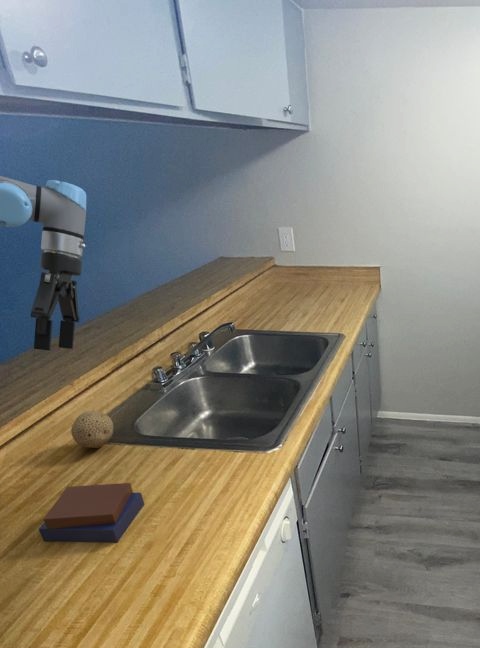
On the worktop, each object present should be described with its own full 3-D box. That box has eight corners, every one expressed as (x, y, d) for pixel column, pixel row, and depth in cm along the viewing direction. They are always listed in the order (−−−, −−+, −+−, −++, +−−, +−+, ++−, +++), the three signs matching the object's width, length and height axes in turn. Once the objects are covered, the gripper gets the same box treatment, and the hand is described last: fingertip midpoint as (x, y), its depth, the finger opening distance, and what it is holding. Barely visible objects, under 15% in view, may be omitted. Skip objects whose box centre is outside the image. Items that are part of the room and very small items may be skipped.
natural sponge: (119, 452, 117) (109, 417, 112) (77, 462, 113) (64, 426, 108) (117, 434, 124) (107, 401, 119) (77, 443, 119) (65, 409, 115)
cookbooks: (43, 541, 90) (33, 519, 88) (78, 502, 100) (70, 481, 98) (117, 542, 91) (109, 520, 88) (144, 504, 101) (138, 482, 98)
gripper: (60, 248, 95) (51, 352, 97) (98, 266, 119) (91, 349, 121) (15, 241, 93) (7, 347, 95) (63, 260, 117) (56, 345, 118)
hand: (54, 349), depth 108 cm, fingers open, 13 cm apart
